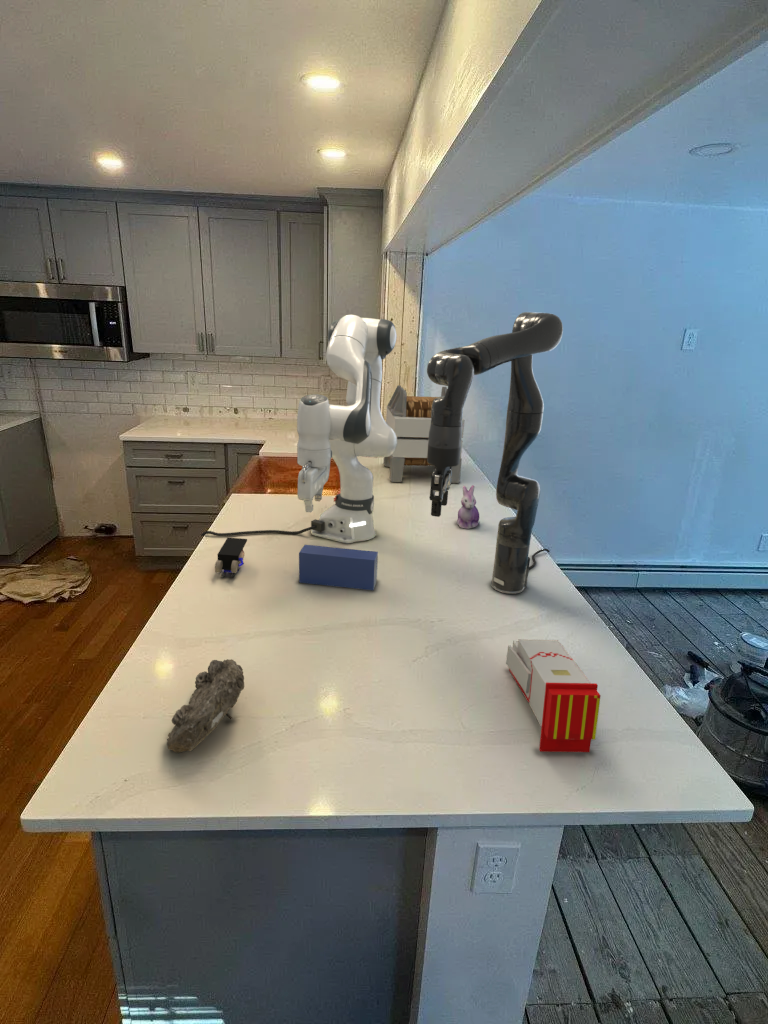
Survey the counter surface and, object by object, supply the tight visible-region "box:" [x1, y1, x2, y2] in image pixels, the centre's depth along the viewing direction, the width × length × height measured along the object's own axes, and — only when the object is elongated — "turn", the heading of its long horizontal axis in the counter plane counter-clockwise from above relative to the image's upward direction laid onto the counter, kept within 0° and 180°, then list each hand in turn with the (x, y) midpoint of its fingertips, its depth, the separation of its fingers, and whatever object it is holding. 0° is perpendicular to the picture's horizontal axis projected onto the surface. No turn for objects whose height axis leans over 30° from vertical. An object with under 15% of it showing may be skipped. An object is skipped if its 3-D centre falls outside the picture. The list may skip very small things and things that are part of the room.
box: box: [298, 544, 379, 591], centre depth 162 cm, size 22×6×9 cm, turn 82°
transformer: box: [383, 384, 465, 484], centre depth 268 cm, size 34×33×41 cm
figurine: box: [456, 484, 480, 530], centre depth 209 cm, size 9×10×15 cm
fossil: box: [166, 658, 245, 754], centre depth 106 cm, size 22×10×15 cm
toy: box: [505, 638, 602, 753], centre depth 114 cm, size 12×13×30 cm
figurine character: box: [214, 537, 248, 578], centre depth 166 cm, size 7×8×15 cm
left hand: (313, 505), depth 156 cm, fingers open, 8 cm apart
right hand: (439, 510), depth 135 cm, fingers open, 8 cm apart
